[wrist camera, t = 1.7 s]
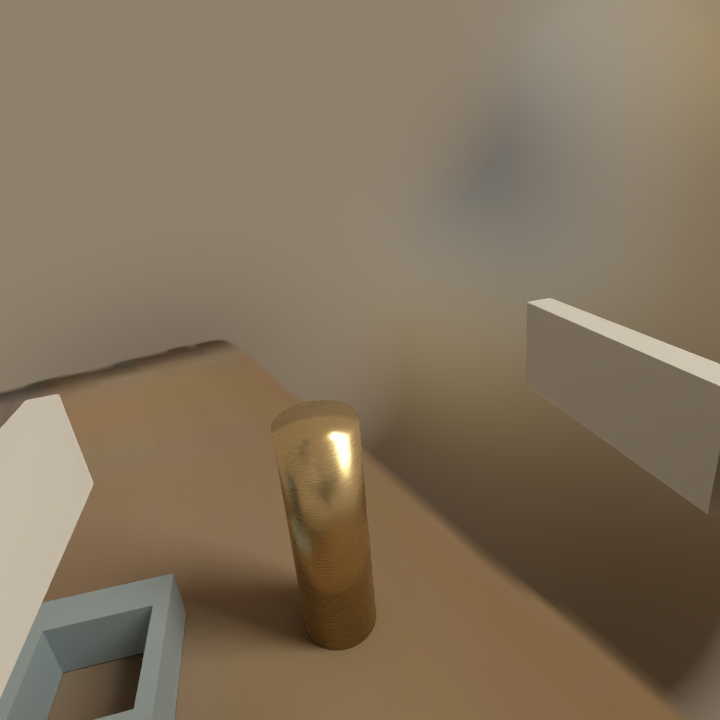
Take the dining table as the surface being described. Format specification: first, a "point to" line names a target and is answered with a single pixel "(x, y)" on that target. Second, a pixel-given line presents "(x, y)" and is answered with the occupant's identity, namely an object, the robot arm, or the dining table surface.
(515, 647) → the dining table surface
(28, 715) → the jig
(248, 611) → the dining table surface
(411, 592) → the dining table surface
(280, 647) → the dining table surface
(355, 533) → the gold metal cylinder
